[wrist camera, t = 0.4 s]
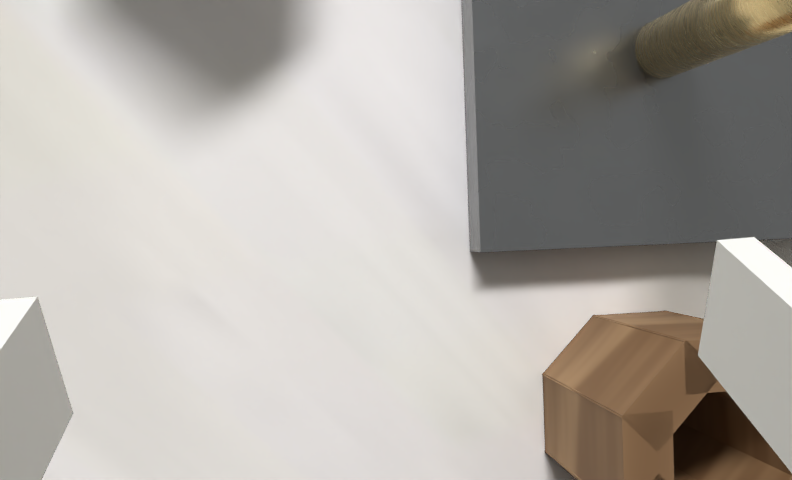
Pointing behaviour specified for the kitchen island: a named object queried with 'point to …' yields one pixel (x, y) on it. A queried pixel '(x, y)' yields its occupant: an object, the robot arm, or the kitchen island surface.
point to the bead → (647, 407)
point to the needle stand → (627, 122)
